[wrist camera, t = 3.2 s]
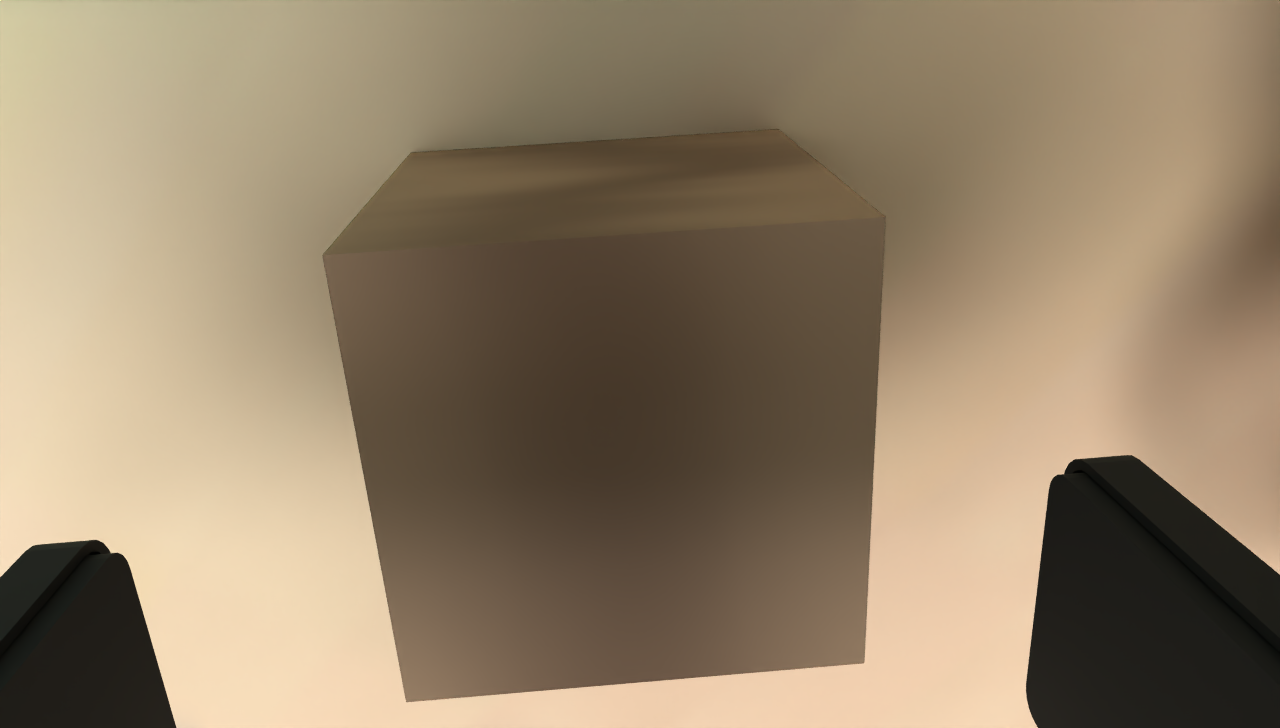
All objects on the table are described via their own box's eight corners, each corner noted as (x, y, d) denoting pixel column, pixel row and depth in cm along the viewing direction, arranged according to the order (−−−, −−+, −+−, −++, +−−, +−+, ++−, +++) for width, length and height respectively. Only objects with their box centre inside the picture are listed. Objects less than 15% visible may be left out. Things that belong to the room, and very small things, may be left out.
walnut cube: (777, 128, 16) (884, 217, 10) (776, 450, 18) (864, 662, 13) (411, 151, 16) (322, 254, 10) (458, 474, 18) (406, 702, 12)
